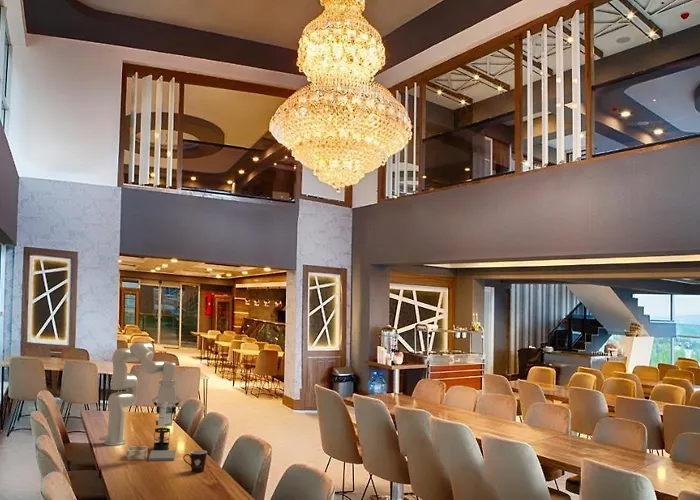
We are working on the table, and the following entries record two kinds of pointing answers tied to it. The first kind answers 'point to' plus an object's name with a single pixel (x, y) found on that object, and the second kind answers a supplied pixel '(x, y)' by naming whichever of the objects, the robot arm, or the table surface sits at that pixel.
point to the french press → (161, 439)
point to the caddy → (137, 452)
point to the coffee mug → (197, 460)
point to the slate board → (162, 455)
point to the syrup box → (165, 414)
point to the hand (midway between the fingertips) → (165, 413)
